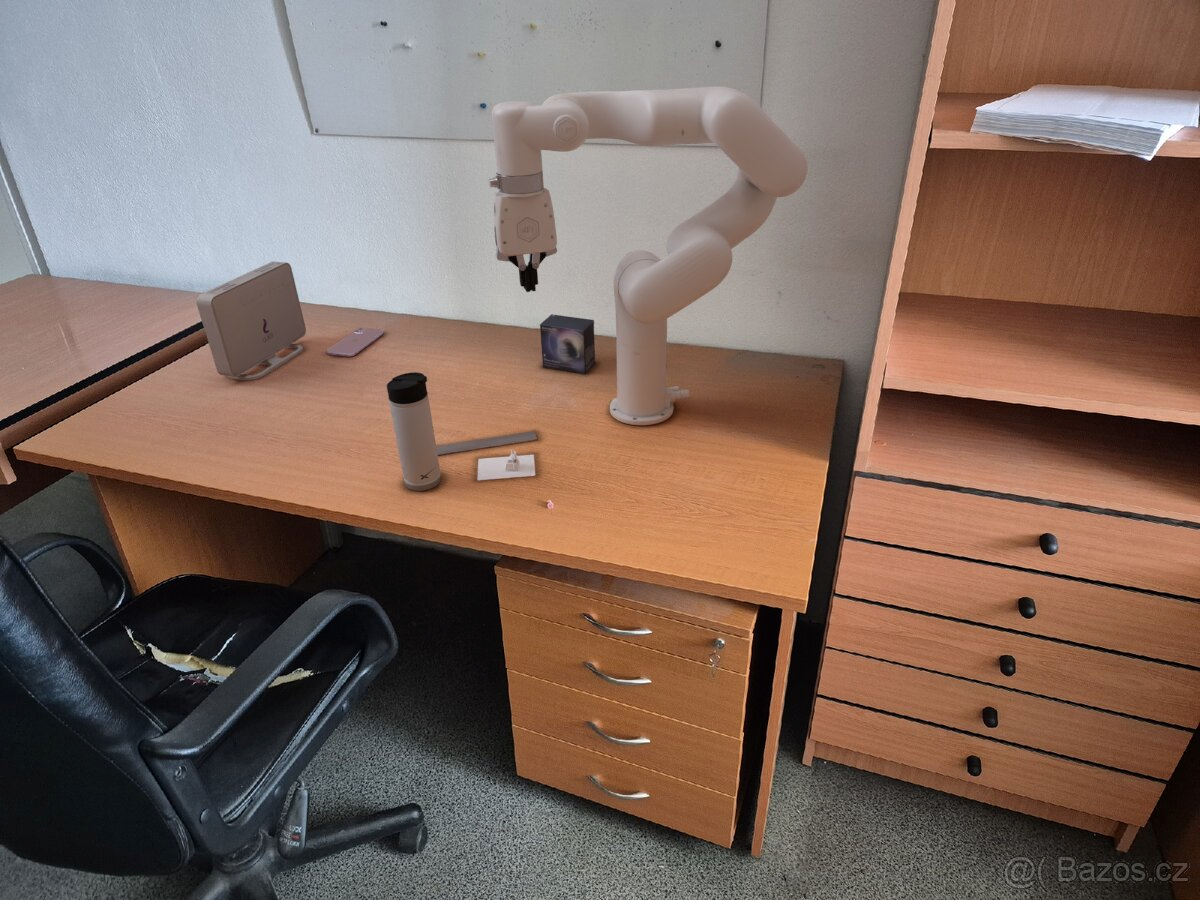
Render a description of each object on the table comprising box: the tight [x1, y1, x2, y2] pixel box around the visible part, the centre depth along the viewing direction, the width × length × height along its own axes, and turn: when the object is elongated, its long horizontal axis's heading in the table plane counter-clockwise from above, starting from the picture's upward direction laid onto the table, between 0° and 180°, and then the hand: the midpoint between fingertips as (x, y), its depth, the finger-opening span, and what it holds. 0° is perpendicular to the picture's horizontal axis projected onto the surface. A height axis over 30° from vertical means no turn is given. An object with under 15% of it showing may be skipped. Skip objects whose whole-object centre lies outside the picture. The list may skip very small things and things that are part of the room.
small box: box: [539, 313, 596, 375], centre depth 171 cm, size 11×6×10 cm, turn 68°
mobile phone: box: [325, 327, 385, 358], centre depth 187 cm, size 8×1×15 cm
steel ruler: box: [436, 430, 538, 456], centre depth 145 cm, size 20×3×1 cm, turn 105°
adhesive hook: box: [504, 449, 521, 471], centre depth 137 cm, size 3×3×3 cm
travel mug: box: [386, 371, 442, 492], centre depth 130 cm, size 6×7×20 cm
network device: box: [196, 261, 307, 381], centre depth 175 cm, size 26×9×20 cm, turn 161°
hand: (529, 289), depth 139 cm, fingers closed
